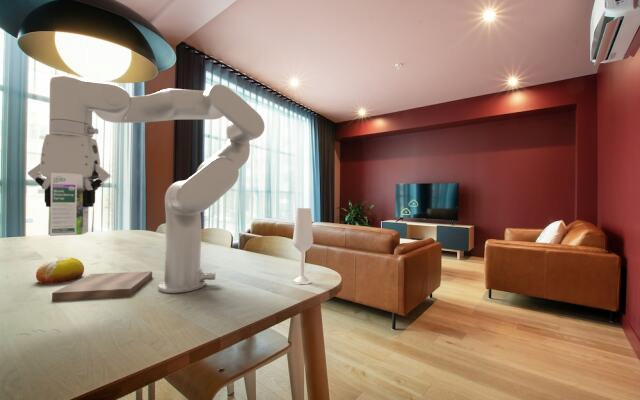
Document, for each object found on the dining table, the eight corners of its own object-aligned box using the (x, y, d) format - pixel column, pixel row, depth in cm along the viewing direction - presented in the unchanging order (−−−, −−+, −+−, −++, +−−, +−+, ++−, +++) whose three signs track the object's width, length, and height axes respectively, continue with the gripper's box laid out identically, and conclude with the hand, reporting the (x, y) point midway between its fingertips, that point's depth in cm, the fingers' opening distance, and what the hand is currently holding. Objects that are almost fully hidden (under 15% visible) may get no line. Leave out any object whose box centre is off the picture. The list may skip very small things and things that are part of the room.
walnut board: (152, 277, 90) (152, 271, 90) (130, 296, 73) (130, 288, 73) (90, 280, 86) (91, 273, 86) (51, 300, 68) (52, 292, 68)
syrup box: (48, 236, 61) (49, 171, 61) (59, 233, 67) (59, 173, 66) (81, 235, 64) (82, 173, 64) (89, 232, 69) (89, 174, 69)
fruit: (66, 272, 93) (73, 250, 92) (88, 284, 90) (94, 261, 90) (23, 280, 82) (30, 255, 82) (46, 294, 79) (54, 268, 79)
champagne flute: (287, 282, 88) (289, 208, 88) (299, 277, 94) (301, 208, 94) (304, 286, 85) (306, 208, 85) (316, 281, 90) (317, 208, 91)
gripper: (120, 137, 71) (119, 206, 71) (37, 132, 66) (36, 206, 66) (106, 130, 64) (105, 207, 64) (12, 124, 59) (11, 207, 59)
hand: (70, 206), depth 65 cm, fingers closed on syrup box, 6 cm apart
